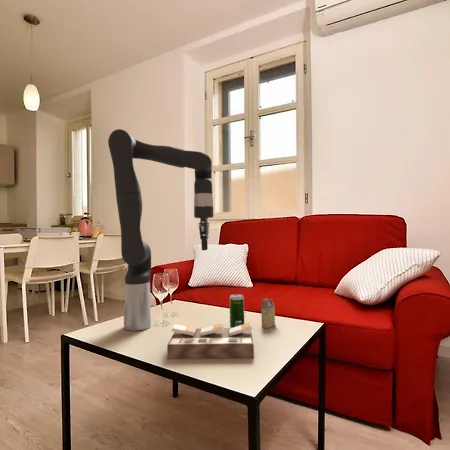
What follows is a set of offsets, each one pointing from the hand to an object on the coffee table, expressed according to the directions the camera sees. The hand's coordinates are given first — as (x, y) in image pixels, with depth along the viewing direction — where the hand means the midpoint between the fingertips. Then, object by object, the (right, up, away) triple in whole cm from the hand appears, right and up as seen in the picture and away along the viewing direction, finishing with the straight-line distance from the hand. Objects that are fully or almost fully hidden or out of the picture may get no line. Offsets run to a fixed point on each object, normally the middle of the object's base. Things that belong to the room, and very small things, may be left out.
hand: (204, 250), depth 119 cm
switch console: (+4, -29, -24) cm, 38 cm away
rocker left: (-5, -24, -22) cm, 33 cm away
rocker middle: (+4, -23, -22) cm, 32 cm away
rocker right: (+13, -23, -22) cm, 35 cm away
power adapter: (+16, -29, +9) cm, 35 cm away
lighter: (+25, -29, -3) cm, 38 cm away
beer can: (+13, -29, -4) cm, 32 cm away
